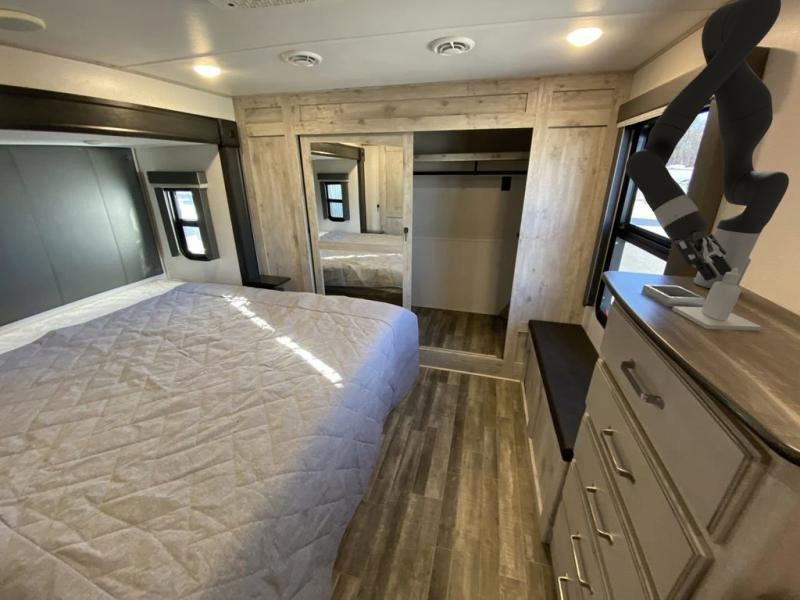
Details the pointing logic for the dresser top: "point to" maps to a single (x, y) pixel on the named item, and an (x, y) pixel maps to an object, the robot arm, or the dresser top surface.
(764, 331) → the dresser top surface
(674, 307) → the cream pad
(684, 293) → the grey square tray
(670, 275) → the dresser top surface
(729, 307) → the eye dropper bottle
